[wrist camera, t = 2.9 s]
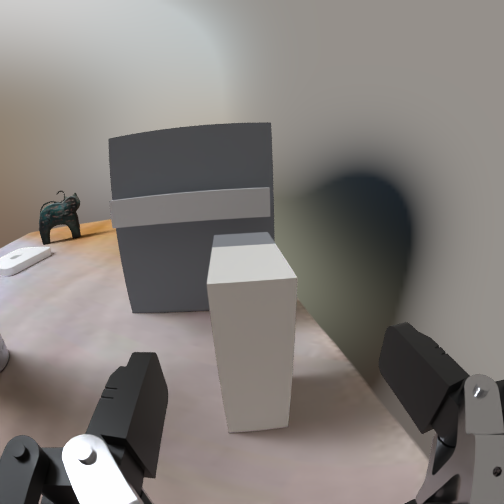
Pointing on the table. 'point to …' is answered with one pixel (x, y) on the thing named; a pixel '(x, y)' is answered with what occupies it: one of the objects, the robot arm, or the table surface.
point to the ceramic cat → (60, 217)
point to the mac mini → (22, 259)
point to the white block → (252, 329)
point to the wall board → (186, 206)
